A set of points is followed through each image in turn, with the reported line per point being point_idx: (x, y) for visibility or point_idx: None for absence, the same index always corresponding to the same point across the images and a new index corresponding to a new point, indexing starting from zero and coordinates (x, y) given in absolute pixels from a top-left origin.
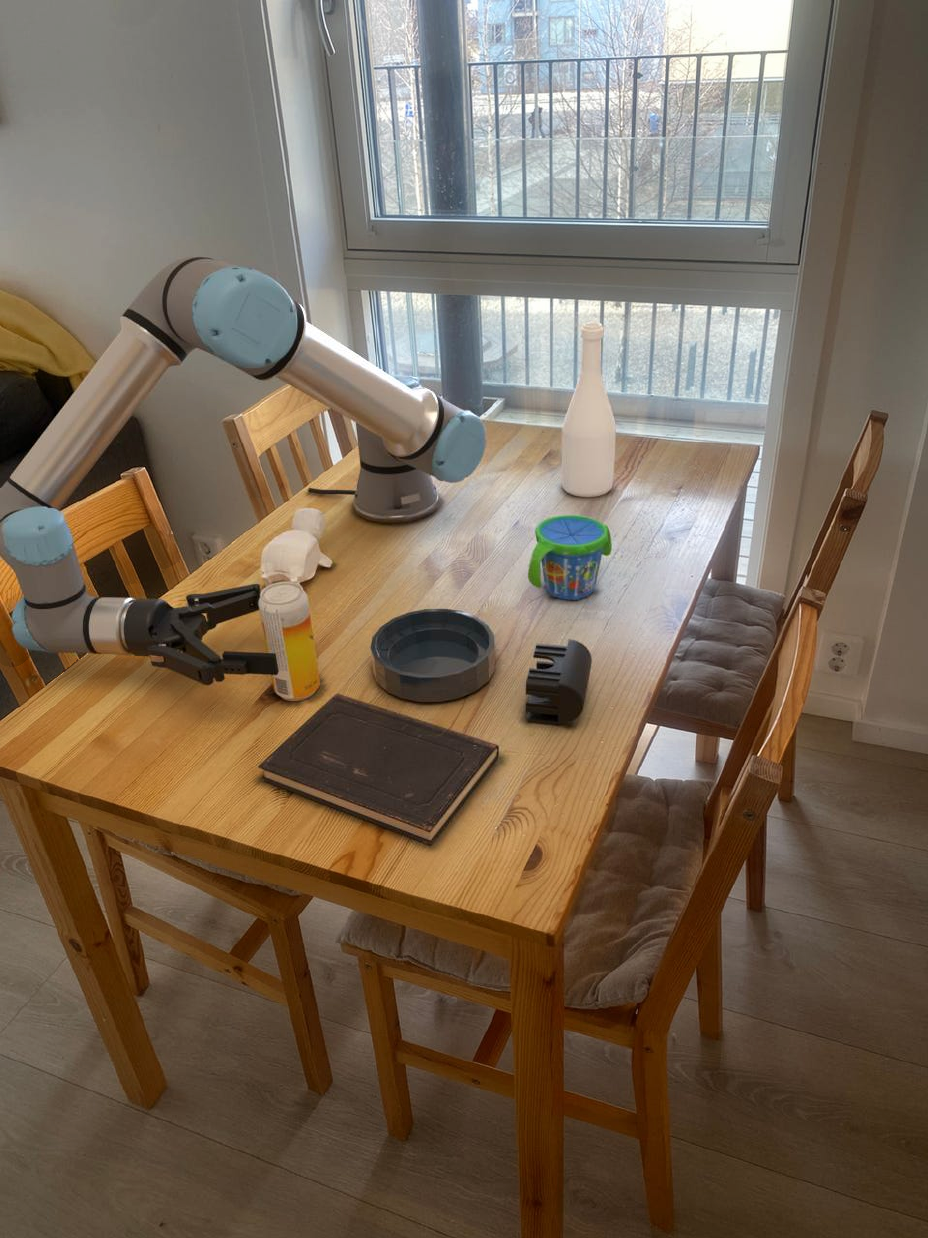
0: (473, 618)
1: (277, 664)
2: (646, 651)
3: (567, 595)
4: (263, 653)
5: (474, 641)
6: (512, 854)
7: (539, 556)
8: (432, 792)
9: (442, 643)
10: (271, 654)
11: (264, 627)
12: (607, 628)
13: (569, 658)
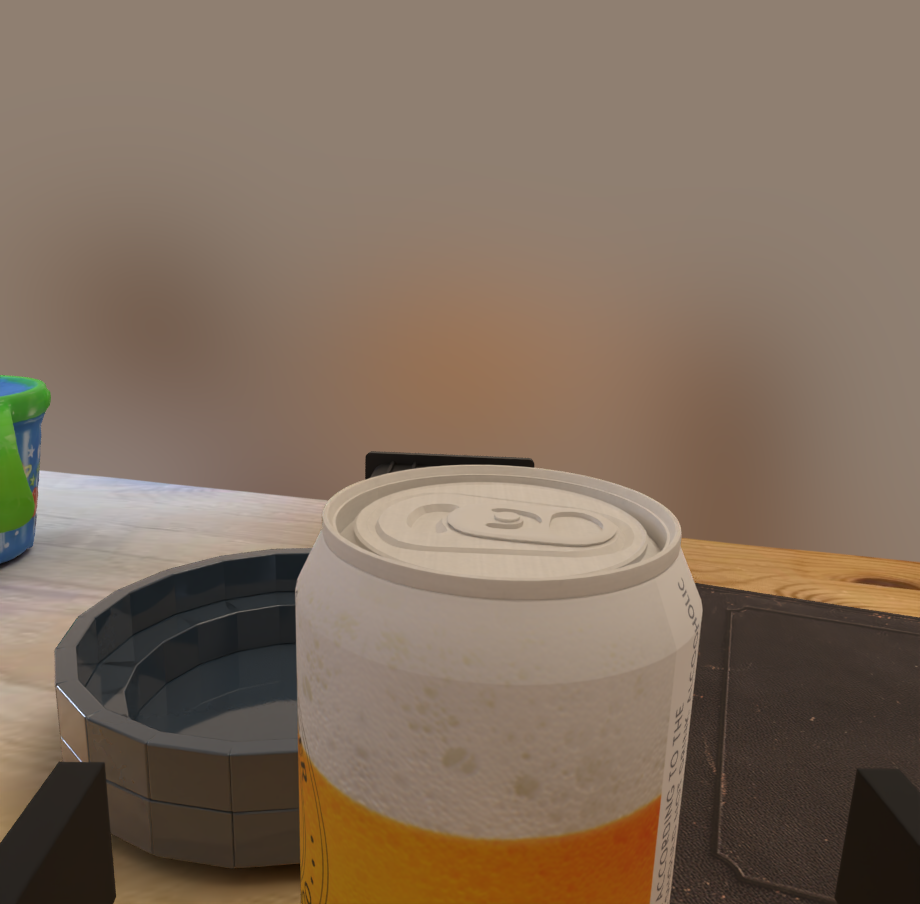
0: (171, 574)
1: (843, 848)
2: (269, 505)
3: (25, 540)
4: (913, 826)
5: (238, 612)
6: (902, 599)
7: (5, 435)
8: (897, 634)
9: (162, 708)
10: (883, 786)
11: (658, 831)
12: (172, 528)
13: (440, 454)
